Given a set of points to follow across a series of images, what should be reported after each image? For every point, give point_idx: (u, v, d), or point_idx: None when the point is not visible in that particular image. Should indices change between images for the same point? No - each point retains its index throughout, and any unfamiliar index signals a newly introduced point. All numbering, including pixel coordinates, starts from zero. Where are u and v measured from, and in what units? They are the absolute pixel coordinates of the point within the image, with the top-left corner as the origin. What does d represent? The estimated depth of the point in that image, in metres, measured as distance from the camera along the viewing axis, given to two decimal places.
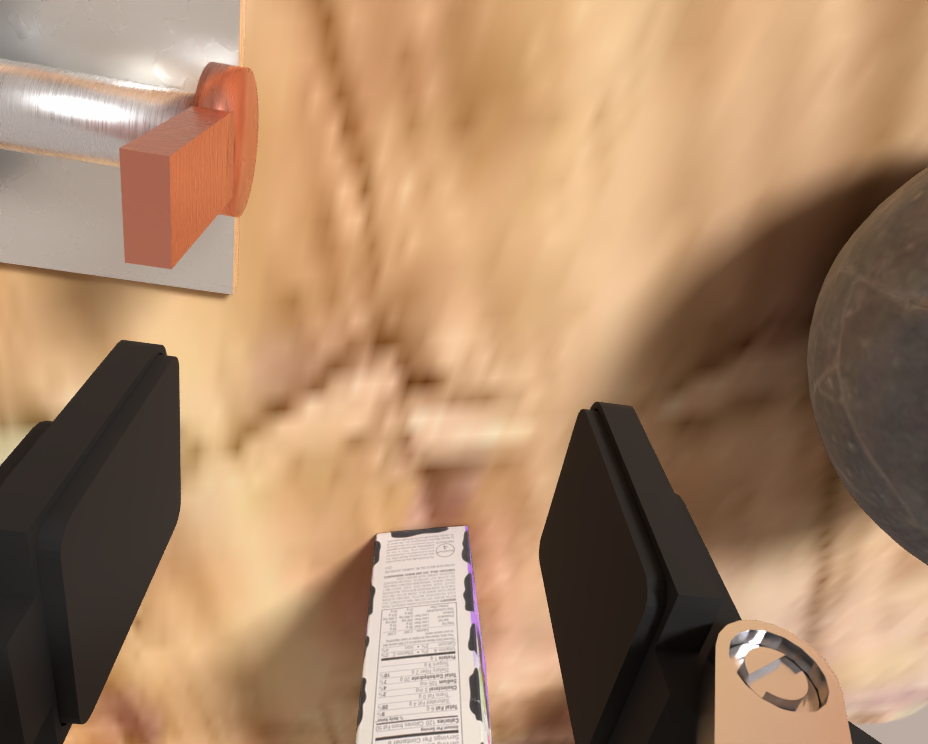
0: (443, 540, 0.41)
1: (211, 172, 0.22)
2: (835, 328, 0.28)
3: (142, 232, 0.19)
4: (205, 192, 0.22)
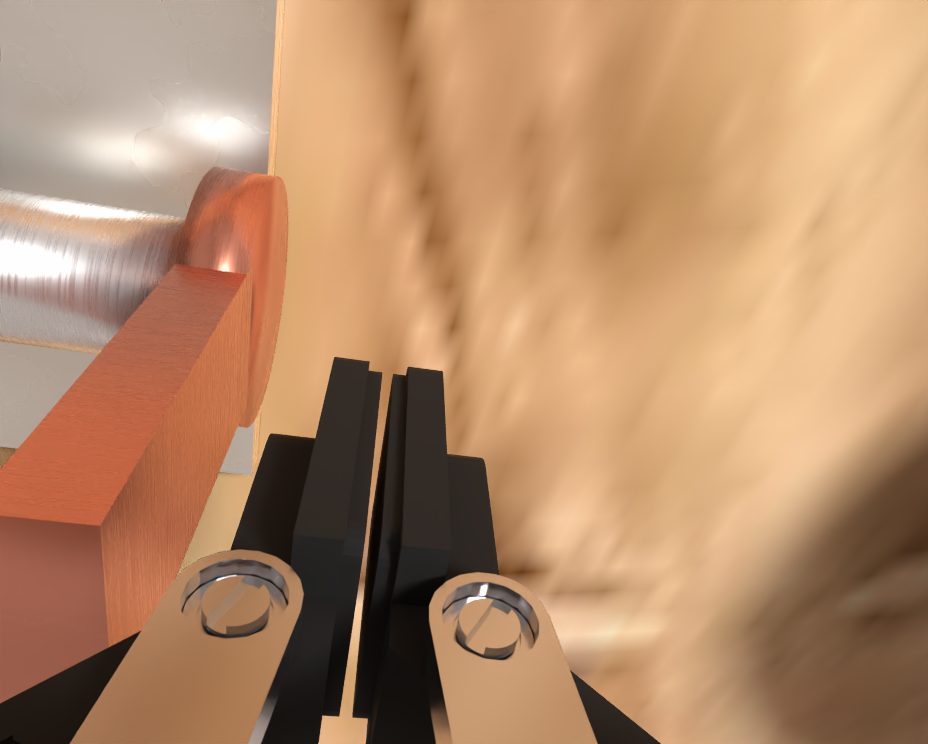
0: None
1: (209, 416, 0.11)
2: None
3: (41, 667, 0.08)
4: (197, 465, 0.11)
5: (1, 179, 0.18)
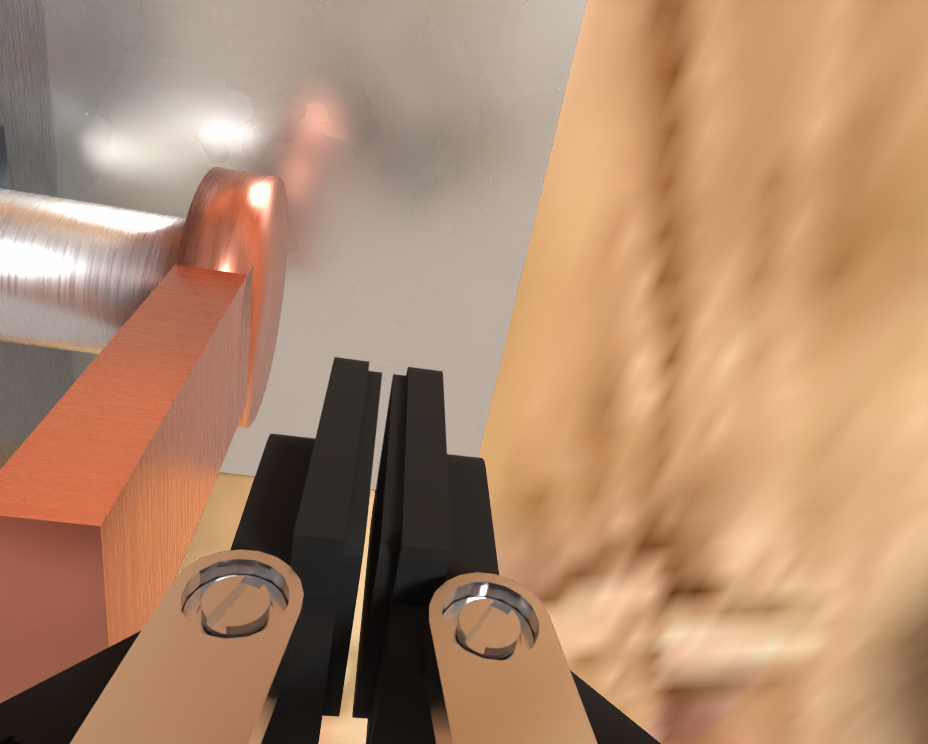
0: None
1: (209, 417, 0.11)
2: None
3: (41, 667, 0.08)
4: (197, 466, 0.11)
5: None
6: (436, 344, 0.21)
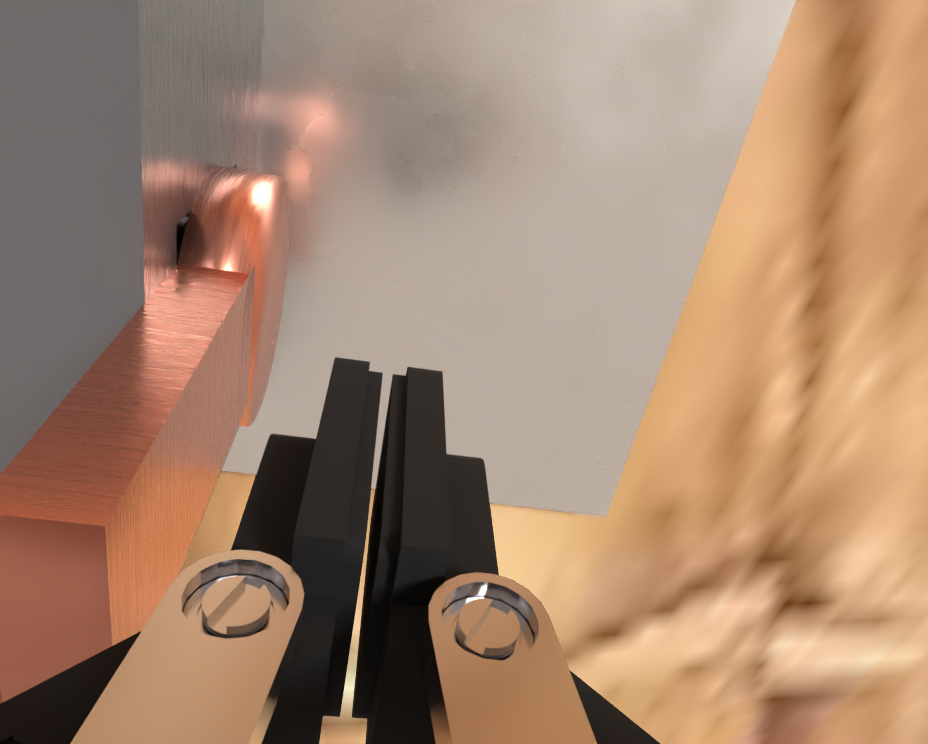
0: None
1: (211, 416, 0.11)
2: None
3: (44, 666, 0.08)
4: (199, 465, 0.11)
5: (464, 253, 0.19)
6: (595, 367, 0.21)
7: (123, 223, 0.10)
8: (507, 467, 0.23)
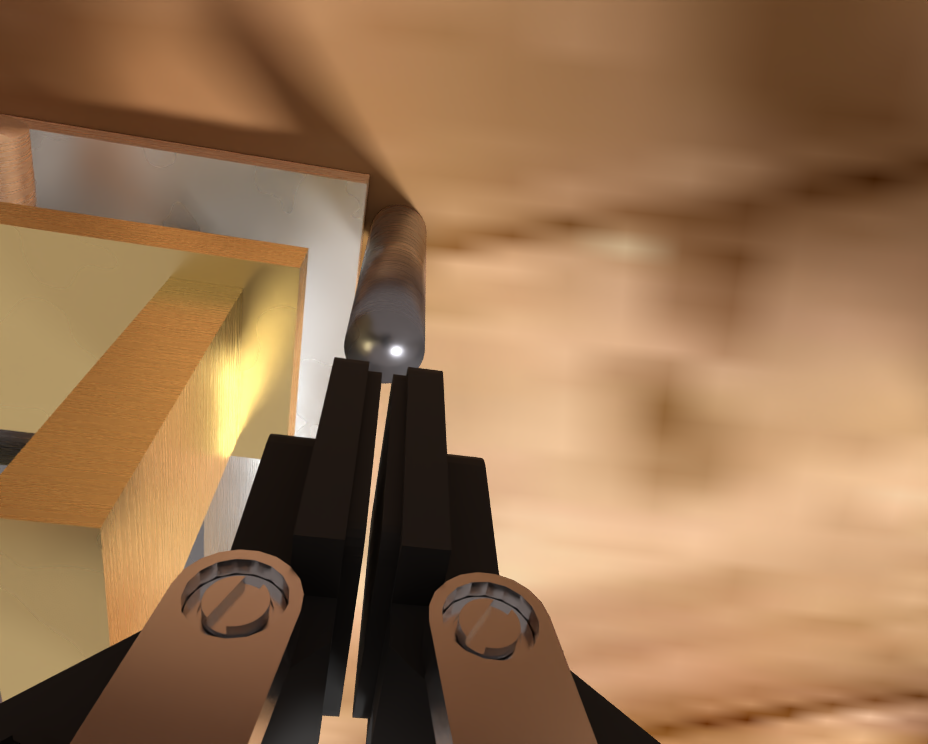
0: None
1: None
2: None
3: None
4: None
5: None
6: None
7: None
8: None
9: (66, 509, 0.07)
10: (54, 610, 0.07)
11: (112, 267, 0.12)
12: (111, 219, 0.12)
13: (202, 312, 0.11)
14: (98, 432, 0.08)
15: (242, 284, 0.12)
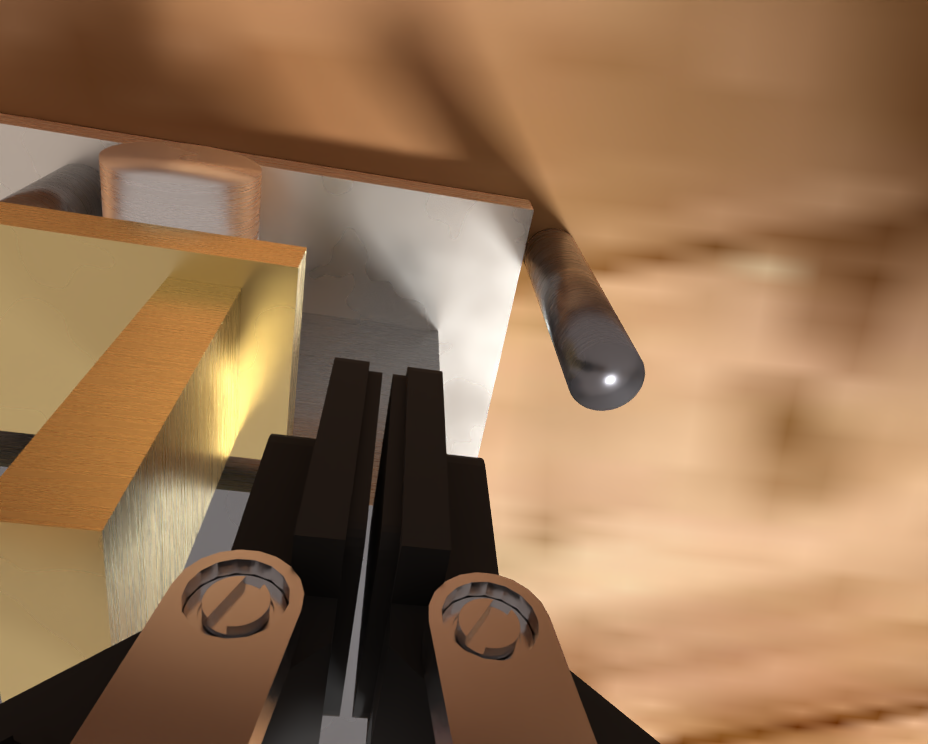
0: None
1: None
2: None
3: None
4: None
5: None
6: None
7: None
8: None
9: (67, 512, 0.07)
10: (55, 613, 0.07)
11: (109, 267, 0.12)
12: (108, 218, 0.12)
13: (200, 312, 0.11)
14: (98, 434, 0.08)
15: (240, 284, 0.12)
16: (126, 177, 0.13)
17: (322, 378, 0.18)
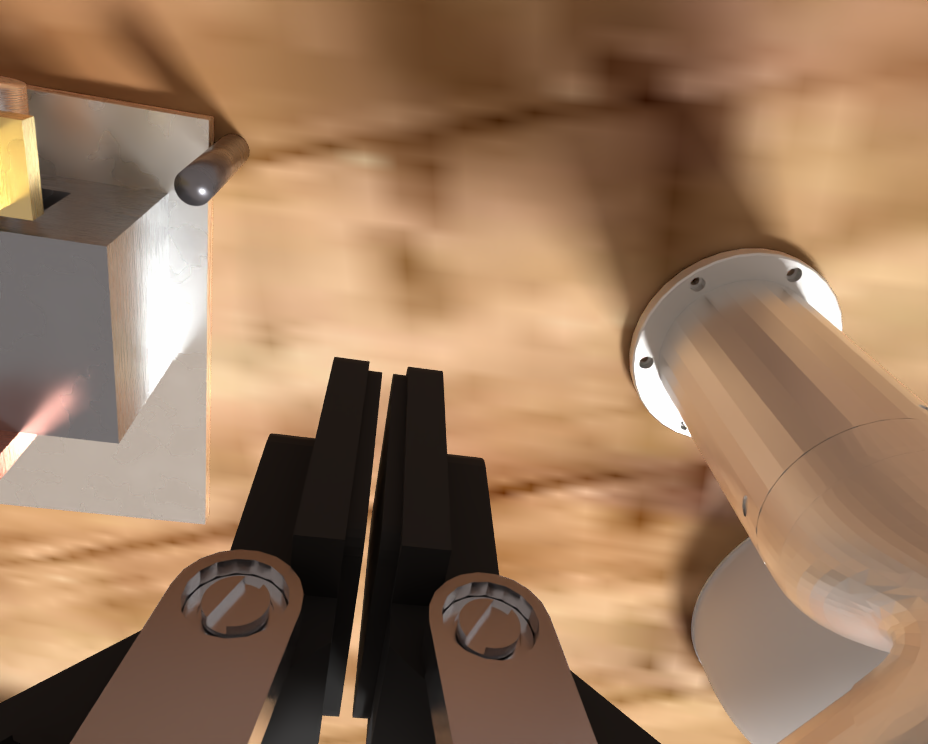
0: None
1: None
2: None
3: None
4: None
5: None
6: (33, 483, 0.45)
7: (45, 430, 0.34)
8: None
9: None
10: None
11: None
12: None
13: None
14: None
15: None
16: None
17: (78, 204, 0.33)
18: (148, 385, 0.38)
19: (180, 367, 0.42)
